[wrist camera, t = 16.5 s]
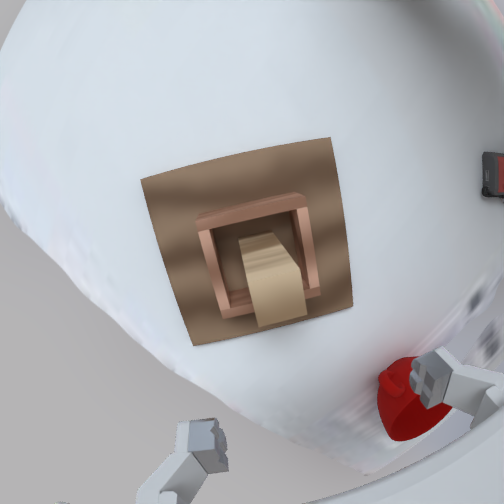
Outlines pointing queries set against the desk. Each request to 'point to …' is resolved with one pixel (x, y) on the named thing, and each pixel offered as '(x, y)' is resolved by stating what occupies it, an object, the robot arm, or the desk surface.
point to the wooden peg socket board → (250, 222)
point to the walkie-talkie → (493, 175)
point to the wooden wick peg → (272, 279)
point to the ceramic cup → (405, 404)
